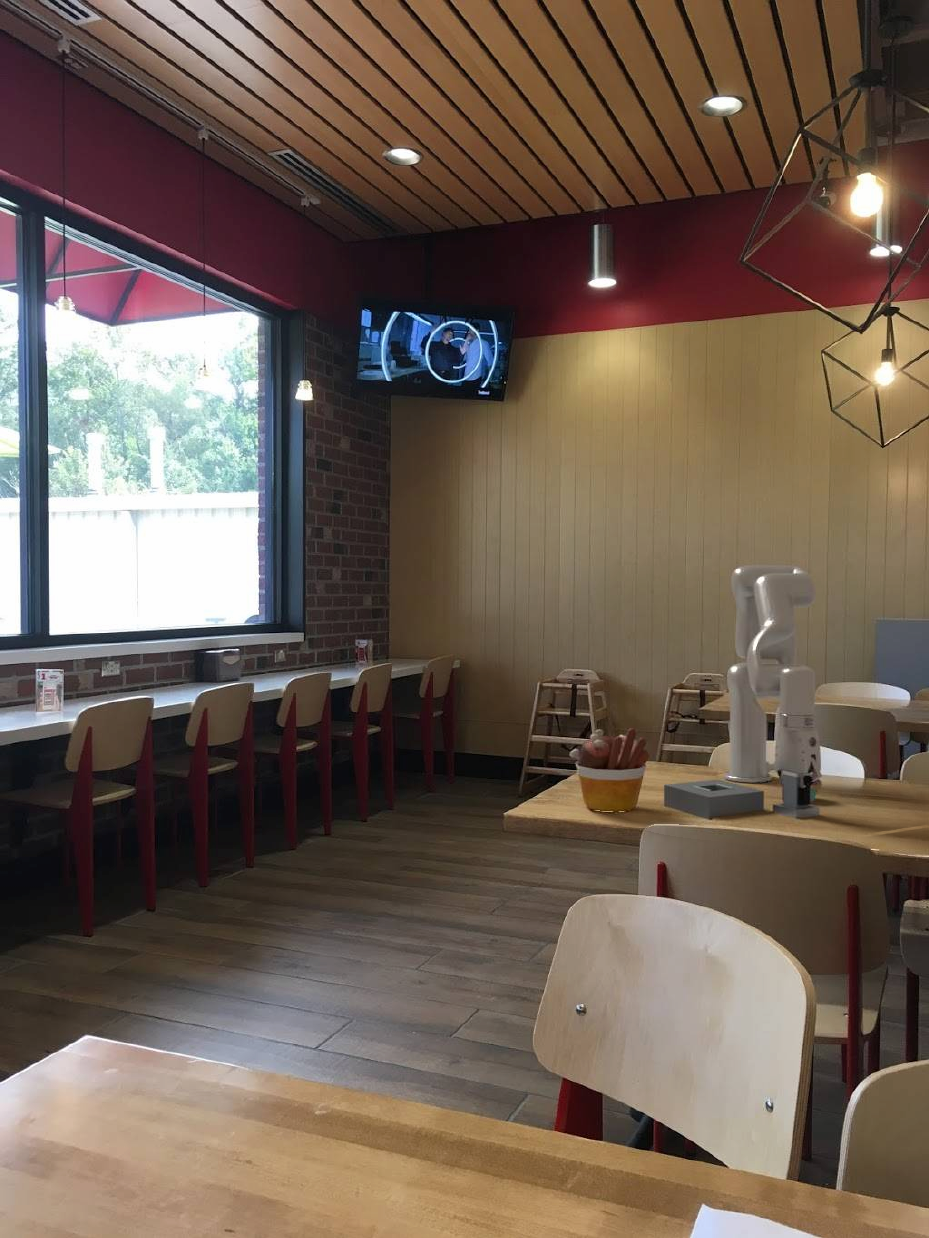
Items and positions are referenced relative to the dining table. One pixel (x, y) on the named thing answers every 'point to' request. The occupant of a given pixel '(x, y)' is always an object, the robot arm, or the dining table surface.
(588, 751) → the bucket of meat
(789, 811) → the box
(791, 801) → the plug
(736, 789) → the port block
